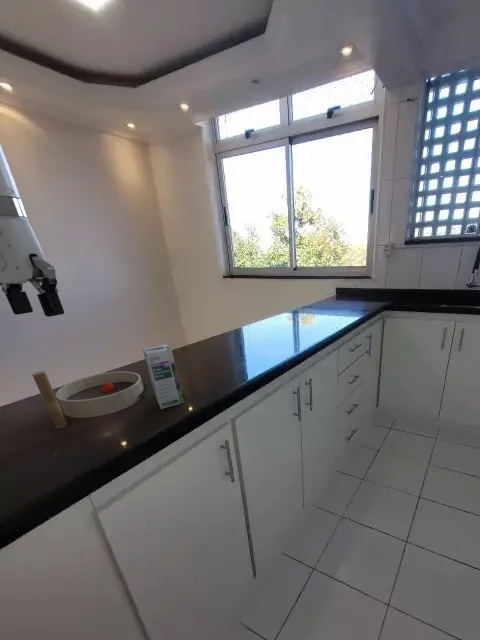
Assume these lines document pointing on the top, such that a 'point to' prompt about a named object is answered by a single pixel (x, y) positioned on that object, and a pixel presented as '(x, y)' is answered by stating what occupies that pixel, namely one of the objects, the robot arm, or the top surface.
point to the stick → (50, 399)
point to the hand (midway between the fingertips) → (39, 314)
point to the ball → (108, 387)
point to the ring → (102, 403)
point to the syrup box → (163, 375)
